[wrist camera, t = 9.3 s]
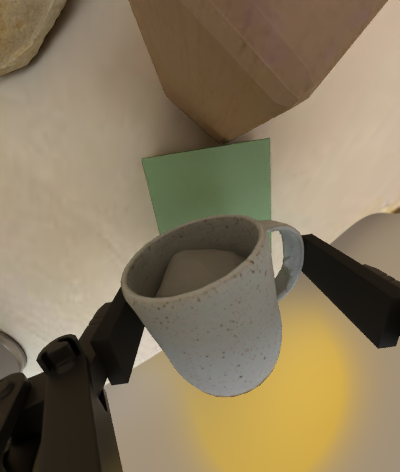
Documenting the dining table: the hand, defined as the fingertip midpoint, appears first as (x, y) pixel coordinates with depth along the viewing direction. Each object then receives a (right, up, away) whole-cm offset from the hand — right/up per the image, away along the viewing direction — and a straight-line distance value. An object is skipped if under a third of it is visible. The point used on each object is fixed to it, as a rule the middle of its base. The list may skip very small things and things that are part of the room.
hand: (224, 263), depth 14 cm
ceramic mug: (0, 0, +1) cm, 1 cm away
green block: (0, +6, +15) cm, 16 cm away
